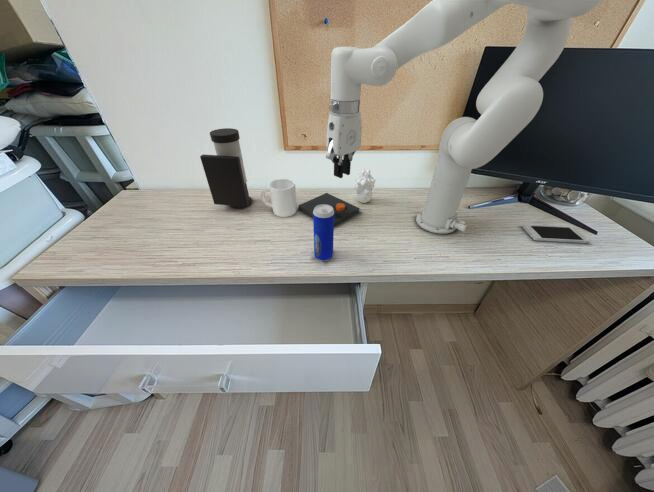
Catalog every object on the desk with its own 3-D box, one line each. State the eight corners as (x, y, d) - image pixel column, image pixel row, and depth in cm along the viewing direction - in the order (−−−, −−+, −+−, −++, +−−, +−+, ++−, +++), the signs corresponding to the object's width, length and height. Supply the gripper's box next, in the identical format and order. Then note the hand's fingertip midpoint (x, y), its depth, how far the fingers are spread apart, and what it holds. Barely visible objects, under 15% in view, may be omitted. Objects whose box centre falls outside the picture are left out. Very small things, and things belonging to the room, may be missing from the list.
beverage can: (312, 252, 72) (310, 205, 63) (329, 248, 74) (330, 202, 64) (317, 263, 69) (316, 215, 59) (335, 260, 70) (337, 212, 60)
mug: (259, 216, 87) (254, 188, 81) (267, 204, 94) (262, 177, 87) (294, 218, 86) (291, 190, 80) (299, 206, 93) (297, 179, 86)
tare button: (346, 209, 85) (346, 205, 84) (340, 212, 83) (340, 208, 82) (340, 206, 87) (340, 202, 86) (333, 209, 85) (334, 205, 84)
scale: (359, 213, 89) (360, 204, 87) (331, 229, 81) (332, 219, 79) (326, 197, 98) (326, 188, 96) (298, 210, 90) (297, 201, 88)
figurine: (363, 208, 92) (366, 176, 84) (349, 201, 96) (351, 170, 88) (375, 202, 96) (379, 170, 88) (361, 195, 99) (364, 165, 92)
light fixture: (260, 199, 97) (248, 129, 81) (248, 214, 88) (232, 139, 73) (230, 196, 98) (212, 127, 83) (216, 211, 90) (193, 137, 74)
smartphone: (521, 227, 83) (523, 224, 82) (572, 229, 82) (573, 227, 81) (534, 240, 77) (535, 238, 77) (588, 243, 76) (590, 240, 76)
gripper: (333, 114, 60) (332, 187, 71) (375, 105, 69) (368, 171, 80) (311, 109, 64) (313, 179, 75) (354, 101, 73) (349, 165, 84)
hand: (341, 174), depth 78 cm, fingers closed
